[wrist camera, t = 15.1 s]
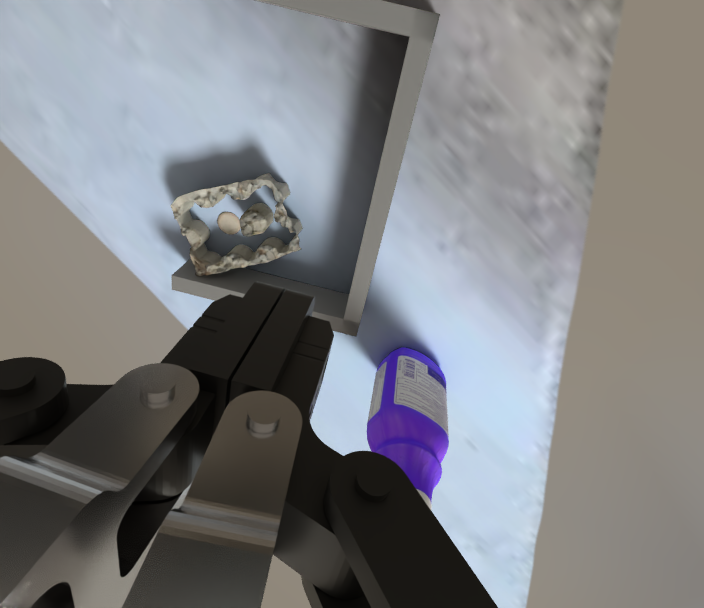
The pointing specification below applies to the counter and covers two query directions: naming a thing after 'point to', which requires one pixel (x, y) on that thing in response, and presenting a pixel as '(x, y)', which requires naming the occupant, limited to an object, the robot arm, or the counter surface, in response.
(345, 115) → the counter surface
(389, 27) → the box
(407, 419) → the bottle
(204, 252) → the egg carton
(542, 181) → the counter surface
